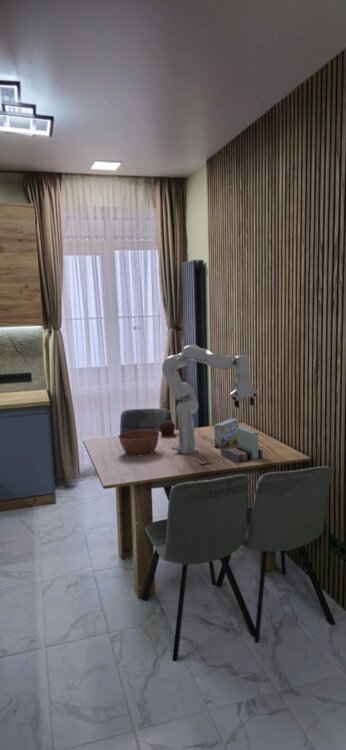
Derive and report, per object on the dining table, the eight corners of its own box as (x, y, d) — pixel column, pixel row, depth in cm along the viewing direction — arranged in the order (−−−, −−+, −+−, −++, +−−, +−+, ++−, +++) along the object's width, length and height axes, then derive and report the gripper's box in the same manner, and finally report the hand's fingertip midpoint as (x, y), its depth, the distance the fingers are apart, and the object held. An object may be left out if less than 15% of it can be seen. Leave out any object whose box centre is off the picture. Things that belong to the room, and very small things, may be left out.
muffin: (173, 437, 353) (172, 423, 351) (157, 437, 355) (157, 422, 354) (177, 433, 364) (176, 419, 363) (162, 432, 367) (161, 419, 365)
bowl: (152, 445, 334) (151, 428, 333) (165, 454, 311) (164, 436, 309) (115, 450, 325) (114, 433, 324) (126, 460, 302) (125, 441, 301)
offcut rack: (236, 464, 283) (236, 455, 283) (221, 456, 300) (220, 447, 299) (262, 459, 290) (262, 450, 289) (245, 452, 306) (245, 443, 305)
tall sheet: (252, 459, 288) (251, 433, 286) (238, 452, 303) (237, 427, 301) (258, 458, 290) (257, 432, 288) (243, 451, 304) (243, 427, 302)
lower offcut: (238, 461, 286) (238, 458, 285) (225, 455, 298) (225, 452, 298) (247, 459, 288) (247, 456, 288) (234, 453, 301) (234, 450, 301)
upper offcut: (238, 458, 285) (237, 455, 285) (225, 452, 298) (225, 449, 298) (247, 456, 288) (247, 453, 288) (234, 450, 301) (234, 447, 300)
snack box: (222, 449, 316) (221, 425, 314) (214, 448, 319) (213, 424, 318) (239, 441, 333) (238, 418, 331) (232, 440, 336) (231, 417, 334)
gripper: (232, 379, 287) (234, 409, 289) (259, 375, 293) (261, 405, 295) (226, 377, 294) (228, 407, 296) (252, 374, 300) (254, 403, 302)
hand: (244, 406), depth 295 cm, fingers open, 9 cm apart
